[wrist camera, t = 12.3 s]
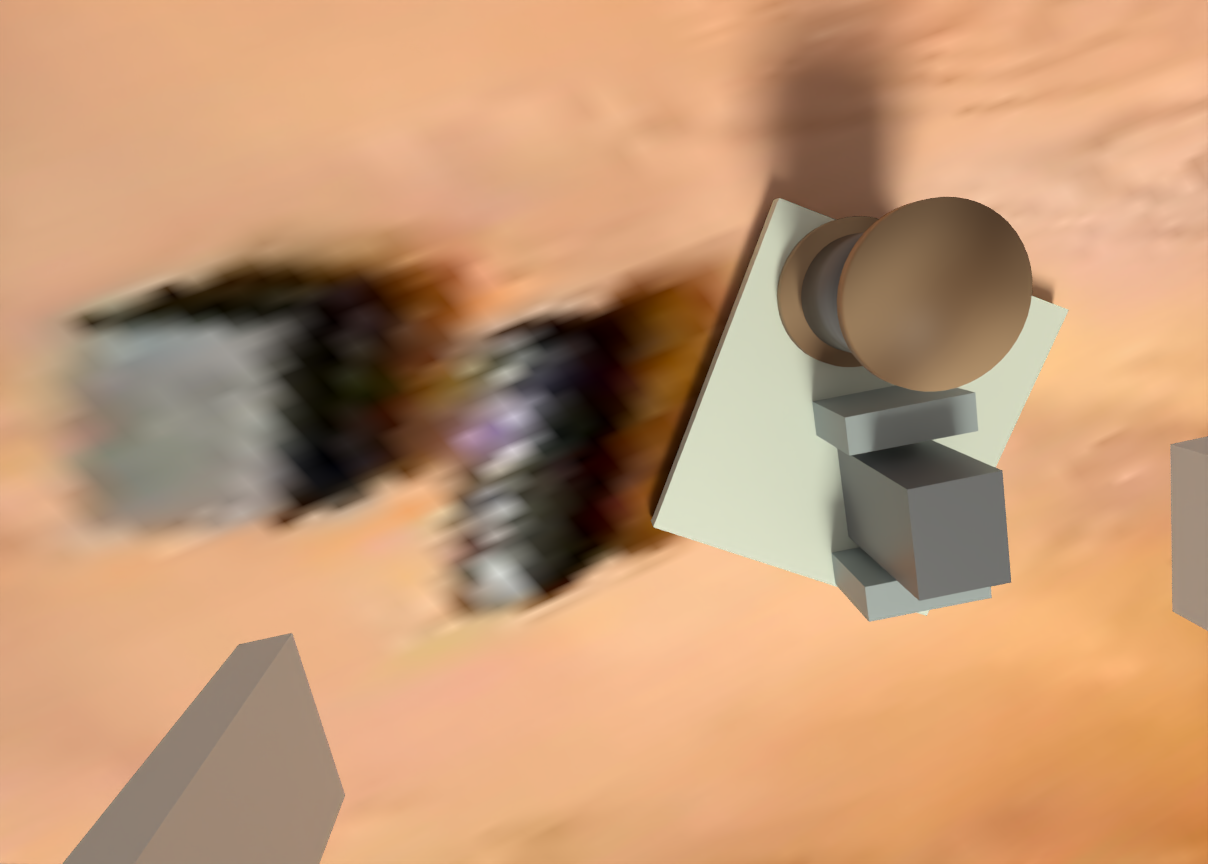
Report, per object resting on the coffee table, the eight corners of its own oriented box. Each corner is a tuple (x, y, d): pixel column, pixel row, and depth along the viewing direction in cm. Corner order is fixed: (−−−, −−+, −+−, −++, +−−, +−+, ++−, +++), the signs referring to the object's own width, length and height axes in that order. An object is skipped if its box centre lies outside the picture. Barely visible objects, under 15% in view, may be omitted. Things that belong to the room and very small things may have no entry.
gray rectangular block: (848, 536, 39) (919, 600, 31) (836, 446, 38) (906, 489, 30) (922, 521, 39) (1011, 582, 31) (912, 431, 38) (1002, 470, 30)
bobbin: (755, 337, 37) (815, 355, 28) (810, 195, 35) (891, 167, 27) (884, 384, 37) (983, 416, 29) (943, 247, 36) (1064, 237, 27)
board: (651, 520, 39) (653, 527, 38) (773, 200, 36) (779, 197, 35) (918, 607, 41) (926, 615, 40) (1055, 309, 38) (1068, 309, 37)
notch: (835, 583, 40) (868, 621, 35) (812, 401, 37) (845, 417, 33) (944, 562, 40) (991, 597, 35) (927, 379, 38) (975, 392, 33)
